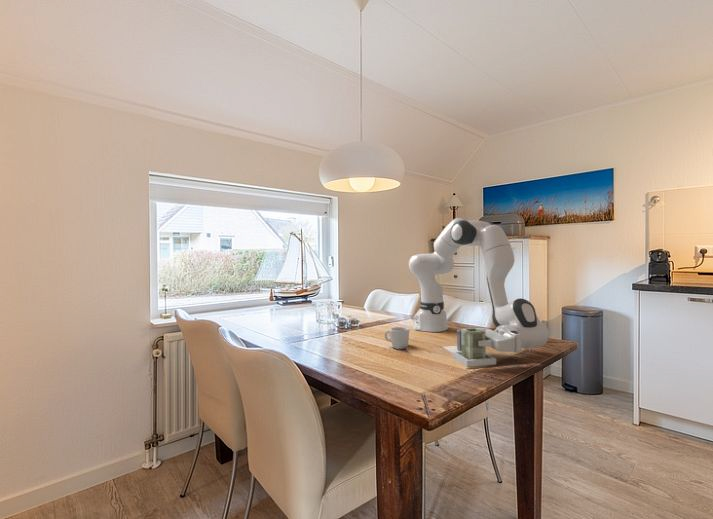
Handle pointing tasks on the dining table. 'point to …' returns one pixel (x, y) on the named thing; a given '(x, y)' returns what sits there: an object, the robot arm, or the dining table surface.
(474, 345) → the sleeve
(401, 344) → the cup
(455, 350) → the stake board
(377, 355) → the dining table surface
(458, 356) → the tray
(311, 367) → the dining table surface
